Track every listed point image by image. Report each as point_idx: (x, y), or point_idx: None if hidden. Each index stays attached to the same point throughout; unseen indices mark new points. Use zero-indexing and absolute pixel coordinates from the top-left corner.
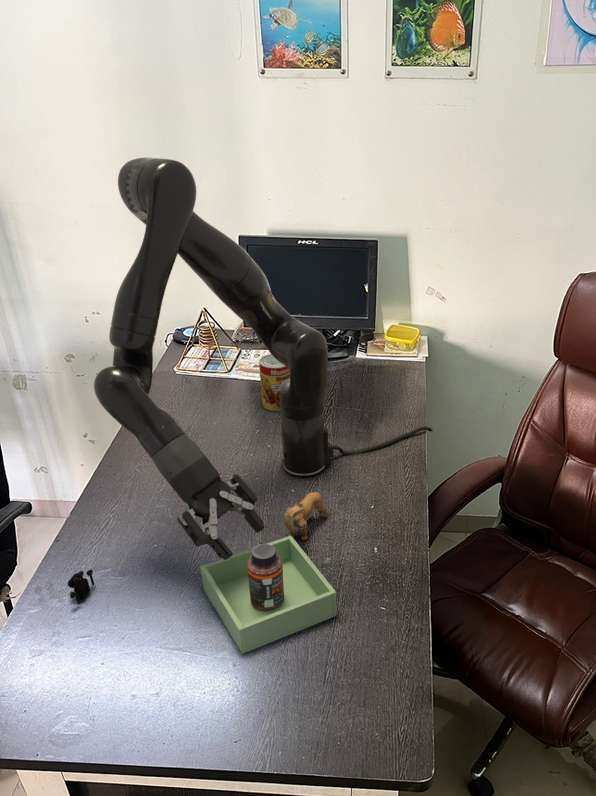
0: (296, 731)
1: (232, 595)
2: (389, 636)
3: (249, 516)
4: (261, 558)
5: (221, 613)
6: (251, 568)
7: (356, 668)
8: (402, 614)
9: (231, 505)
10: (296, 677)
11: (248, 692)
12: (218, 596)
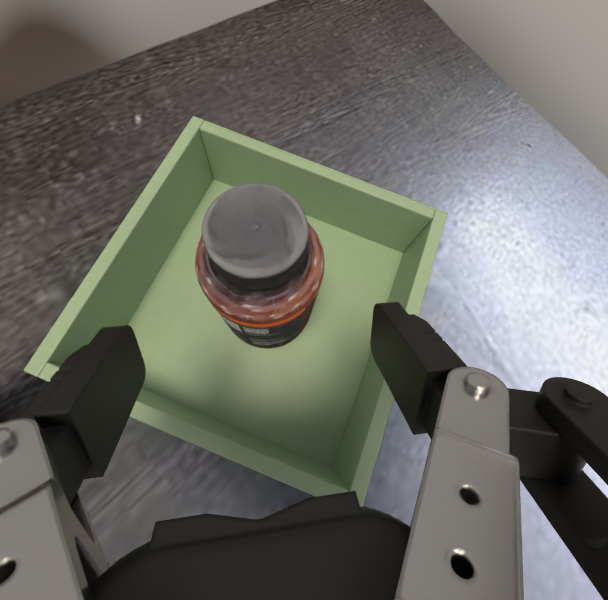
0: (451, 93)
1: (310, 392)
2: (199, 80)
3: (93, 417)
4: (298, 204)
5: None
6: (319, 265)
7: (297, 87)
8: (134, 86)
9: (122, 563)
10: (379, 146)
11: (459, 187)
12: None
